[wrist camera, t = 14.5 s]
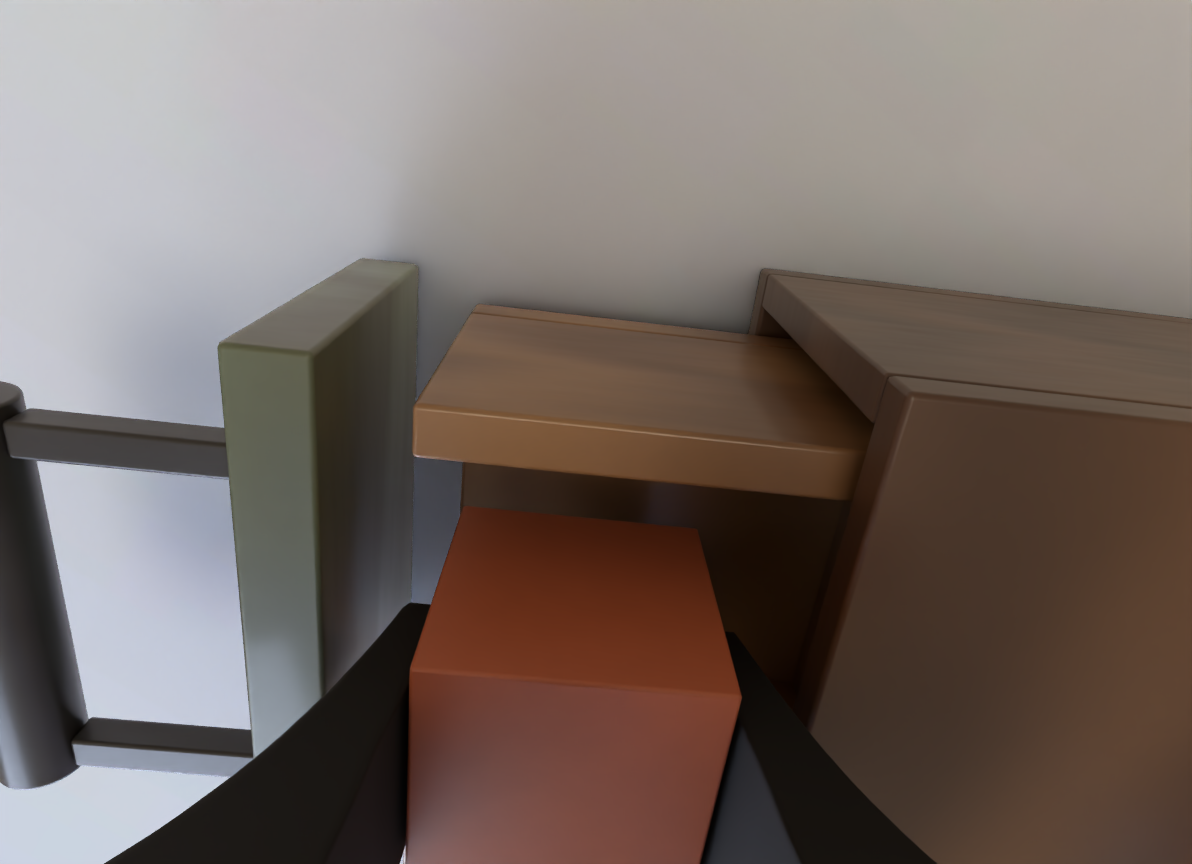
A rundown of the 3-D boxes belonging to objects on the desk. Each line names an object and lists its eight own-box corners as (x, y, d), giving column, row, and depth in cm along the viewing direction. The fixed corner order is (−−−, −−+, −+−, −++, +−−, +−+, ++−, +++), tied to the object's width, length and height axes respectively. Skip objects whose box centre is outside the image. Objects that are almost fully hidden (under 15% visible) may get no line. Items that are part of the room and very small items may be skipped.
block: (453, 689, 14) (403, 896, 10) (462, 504, 12) (409, 668, 9) (662, 707, 14) (688, 916, 10) (698, 527, 12) (744, 697, 9)
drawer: (166, 641, 18) (-24, 875, 13) (109, 227, 14) (-204, 296, 9) (799, 696, 19) (887, 938, 14) (908, 320, 15) (1098, 438, 10)
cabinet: (676, 681, 20) (725, 998, 13) (760, 267, 16) (908, 392, 8) (1105, 718, 21) (1384, 1040, 13) (1302, 331, 16) (1874, 498, 9)
